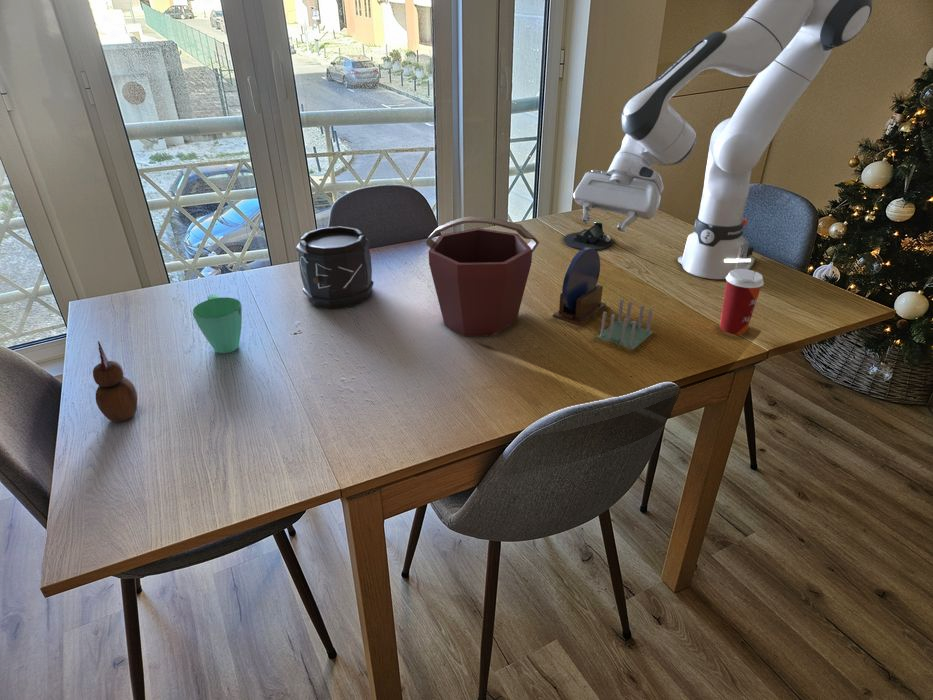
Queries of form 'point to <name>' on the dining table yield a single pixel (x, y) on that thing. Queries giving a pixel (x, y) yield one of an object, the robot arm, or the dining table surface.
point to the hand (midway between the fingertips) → (602, 226)
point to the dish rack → (626, 328)
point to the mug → (220, 322)
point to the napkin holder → (582, 307)
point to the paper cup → (740, 300)
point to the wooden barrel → (335, 266)
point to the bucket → (480, 274)
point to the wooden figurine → (114, 390)
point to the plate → (580, 276)
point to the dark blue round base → (589, 238)
